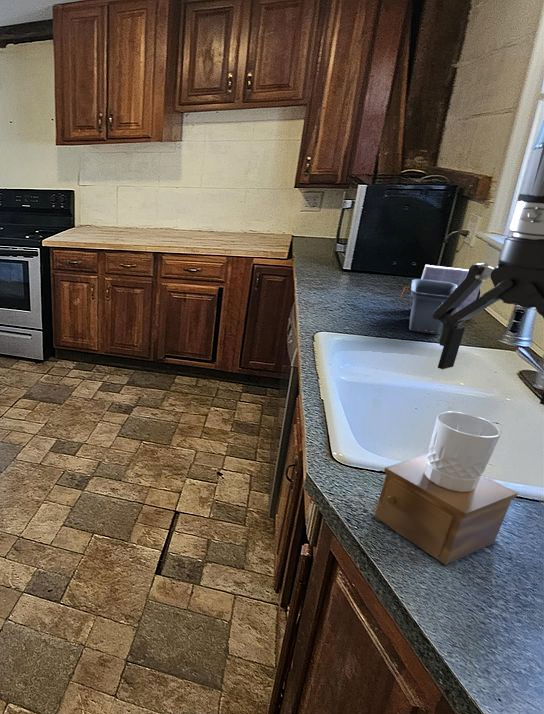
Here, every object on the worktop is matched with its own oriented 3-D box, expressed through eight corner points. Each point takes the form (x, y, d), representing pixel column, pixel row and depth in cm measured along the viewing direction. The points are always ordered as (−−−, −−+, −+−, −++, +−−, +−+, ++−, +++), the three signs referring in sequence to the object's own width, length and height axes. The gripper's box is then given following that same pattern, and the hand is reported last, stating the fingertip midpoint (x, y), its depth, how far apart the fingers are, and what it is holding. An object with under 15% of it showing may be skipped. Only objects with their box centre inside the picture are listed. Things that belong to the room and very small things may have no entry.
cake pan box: (472, 317, 195) (487, 270, 189) (473, 320, 191) (489, 272, 185) (411, 309, 204) (423, 264, 198) (411, 312, 200) (424, 266, 194)
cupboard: (497, 543, 84) (518, 492, 80) (441, 568, 79) (461, 515, 75) (420, 498, 94) (435, 451, 91) (366, 517, 89) (380, 468, 85)
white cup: (435, 460, 88) (452, 407, 84) (489, 485, 82) (511, 428, 78) (409, 474, 84) (426, 419, 80) (464, 501, 78) (486, 442, 74)
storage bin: (447, 339, 173) (460, 296, 167) (393, 330, 180) (403, 289, 175) (445, 322, 189) (457, 283, 184) (395, 315, 197) (405, 277, 192)
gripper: (429, 225, 78) (395, 358, 86) (659, 254, 57) (586, 427, 65) (460, 223, 81) (425, 351, 89) (690, 249, 60) (617, 415, 68)
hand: (492, 383), depth 77 cm, fingers open, 13 cm apart
